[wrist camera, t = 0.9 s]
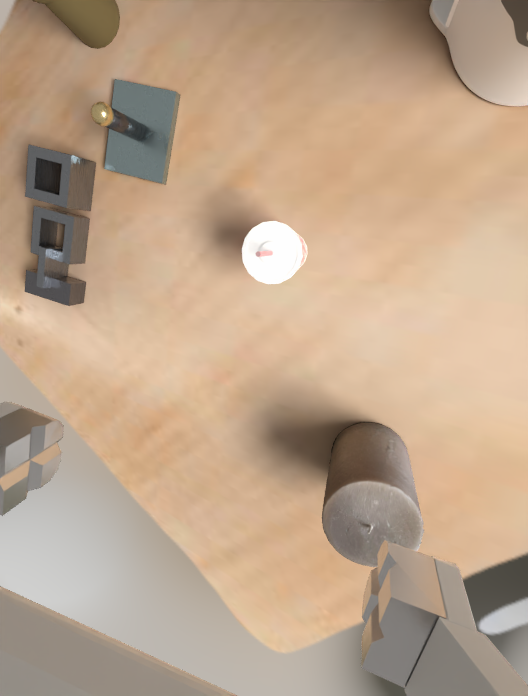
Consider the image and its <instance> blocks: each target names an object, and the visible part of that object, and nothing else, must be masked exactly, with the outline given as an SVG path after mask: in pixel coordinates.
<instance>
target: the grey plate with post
mask: <svg viewBox="0 0 528 696" xmlns="http://www.w3.org/2000/svg"><path fill="white" fill-rule="evenodd" d="M179 100H180V94H178V93H177V92H174V91H170V90H165V89H160V88H155V87H150V86H146V85H141V84H136V83H131V82H127V81H122V80H117V79H115V83H114V91H113V100H112V107H110V106H109V105H108V104H106V103H104V102H97V103H95V104H94V105H93V107H92V109H91V115H92V118H93V120H94V121H95V122H96V123H97V124H98V125H100V126H105V127H107V128H109V134H108V142H107V151H106V160H105V168H104V169H107V170H110V171H114V172H118V173H122V174H126V175H130V176H134V177H138V178H142V179H146V180H150V181H154V182H158V183H162V184H166V181H167V175H168V168H169V162H170V156H171V150H172V143H173V137H174V131H175V125H176V119H177V112H178V106H179Z"/></svg>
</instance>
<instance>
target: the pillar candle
mask: <svg viewBox="0 0 528 696" xmlns="http://www.w3.org/2000/svg"><path fill="white" fill-rule="evenodd" d="M331 452H332V454H331V460H330V467H329V473H328V478H327V484H326V490H325V497H324V504H323V512H322V523H323V529H324V532H325V534H326V536H327V538H328V541H329V542H330V543H331V545H332V546H333V547H334V548H335V549H336V550H337V552H339V553H340V554H341V555H342V556H344V557H345V558H347V559H349V560H351V561H353V562H355V563H358V564H361V565H365V566H370V567H378V552H379V550H380V547H381V545H382V543H383V542H384V540H386V541H389V542H391V543H394V544H397V545H400V546H403V547H405V548H408V549H411V550H414V551H417V550H418V549H419V547H420V544H421V539H422V536H423V533H424V529H423V520H422V517H421V512H420V508H419V503H418V498H417V493H416V489H415V484H414V478H413V473H412V469H411V464H410V460H409V455H408V451H407V448H406V446H405V444H404V442H403V441H402V439H401V438H400V437H399V435H397V434H396V433H395V432H394V431H393V430H392V429H390V428H388V427H386V426H384V425H381V424H377V423H359V424H355V425H352V426H350V427H348V428H346V429H344V430H343V431H342V432H341V433H340V434H339V435H338V436H337V438H336V439H335V441H334V443H333V447H332V451H331Z"/></svg>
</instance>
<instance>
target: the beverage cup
mask: <svg viewBox="0 0 528 696" xmlns="http://www.w3.org/2000/svg"><path fill="white" fill-rule="evenodd" d="M306 257H307V246H306V243H305V241H304V239H303V238H301V237H300V236H299V235H298V234H297V233H296V232H295V231H294V230H292V229H291V228H290V227H289V226H288V225H286V224H283V223H280V222H277V221H269V222H262V223H261V224H259V225H257V226H255V227H254V228H252V229H251V231H250V232H249V233H248V235H247V236H246V237H245V240H244V243H243V247H242V258H243V263H244V265H245V267H246V269H247V271H248V273H249V274H250V275H252V276H253V277H254V278H255V279H256V280H257V281H260V282H263V283H266V284H278V283H281V282H283V281H285V280H287V279H289V278H291V277H292V276H293V275H294V273H295V272H296V271H297V270H298V269H299V268H300V267H301V266H302V264H303V263H304V262H305V260H306Z"/></svg>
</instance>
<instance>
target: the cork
mask: <svg viewBox="0 0 528 696" xmlns="http://www.w3.org/2000/svg"><path fill="white" fill-rule="evenodd" d="M33 1H34V2H37V3H43V4H45V5H46V6H47V7H48V8H49V9H50V10H51V11H52V12H53V13H54V14H55V15H56V16H57V17H58V18H59V19H60V20H61V21H62V22H63V23H64V24H65V25H66V26H67V27H68V28H69V29H70V30H71V31H72V32H73V33H74V34H75V35H76V36H77V37H78V38H79V39H80V40H81V41H82V42H84V43H85V44H86V45H88V46H89V47H91V48H97V49H98V48H102V47H105V46H107V45H108V44H109V43H111V42H112V40H113V39H114V37H115V36H116V34H117V31H118V28H119V20H120V16H119V9H118V6H117V3H116V1H115V0H33Z"/></svg>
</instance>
